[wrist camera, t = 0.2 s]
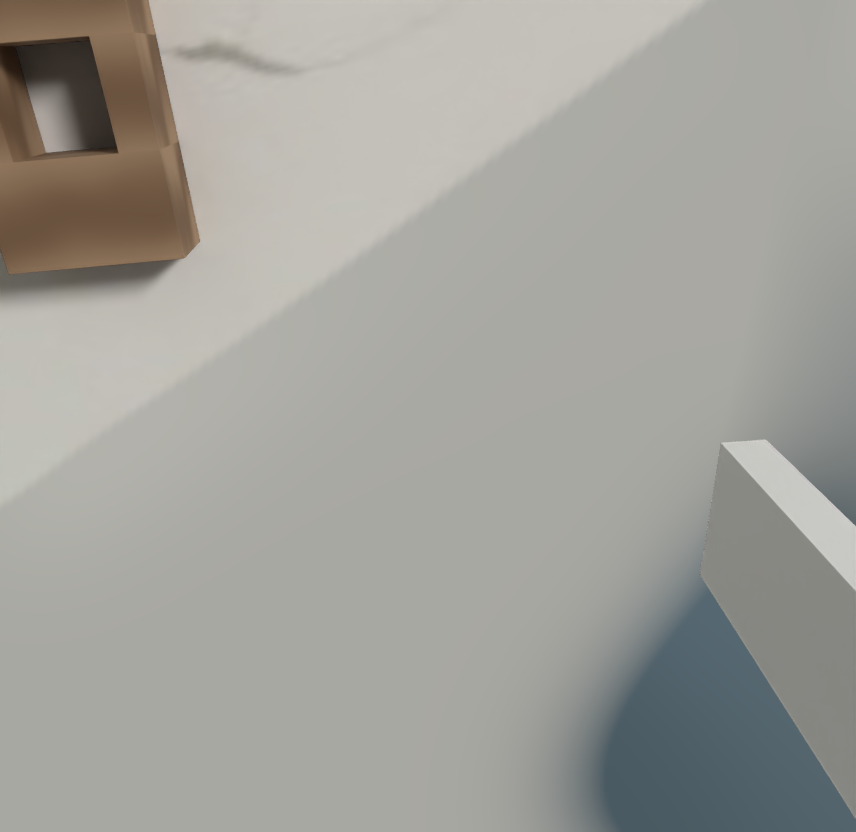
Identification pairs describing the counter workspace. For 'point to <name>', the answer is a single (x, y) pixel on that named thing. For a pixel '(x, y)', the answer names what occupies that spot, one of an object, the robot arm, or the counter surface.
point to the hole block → (92, 168)
